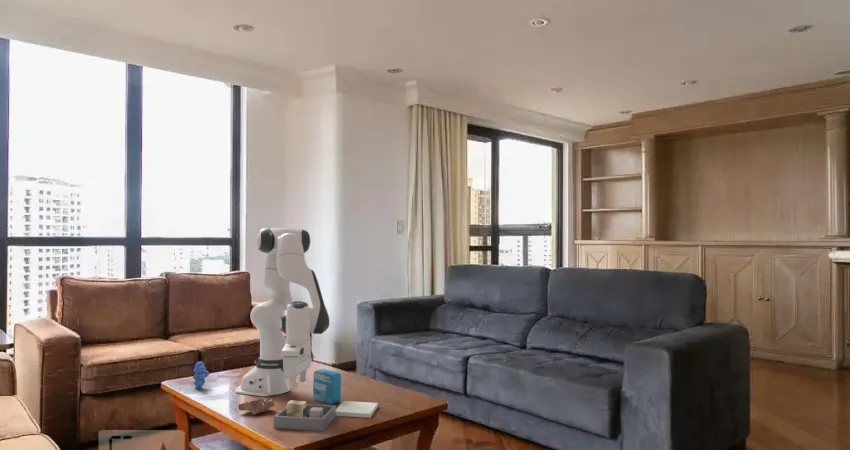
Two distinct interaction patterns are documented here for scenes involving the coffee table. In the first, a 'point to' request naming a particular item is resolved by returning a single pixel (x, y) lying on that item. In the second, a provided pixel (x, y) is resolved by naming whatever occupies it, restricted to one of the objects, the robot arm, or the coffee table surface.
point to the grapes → (200, 374)
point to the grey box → (316, 412)
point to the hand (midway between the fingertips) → (298, 385)
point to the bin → (305, 419)
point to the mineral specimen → (257, 405)
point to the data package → (327, 386)
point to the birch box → (296, 408)
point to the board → (356, 409)
